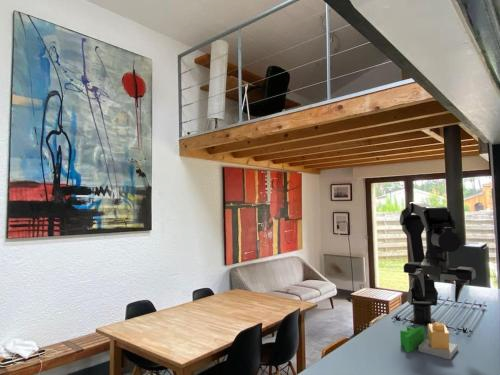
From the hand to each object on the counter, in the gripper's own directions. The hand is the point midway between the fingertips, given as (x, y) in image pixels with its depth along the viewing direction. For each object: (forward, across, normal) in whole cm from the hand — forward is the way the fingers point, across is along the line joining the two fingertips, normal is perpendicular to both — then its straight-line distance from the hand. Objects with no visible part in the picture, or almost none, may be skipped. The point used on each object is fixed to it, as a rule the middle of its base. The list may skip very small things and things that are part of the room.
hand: (439, 298), depth 104 cm
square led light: (+11, +1, -7) cm, 13 cm away
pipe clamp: (+13, -6, -8) cm, 17 cm away
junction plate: (+13, +1, -7) cm, 15 cm away
